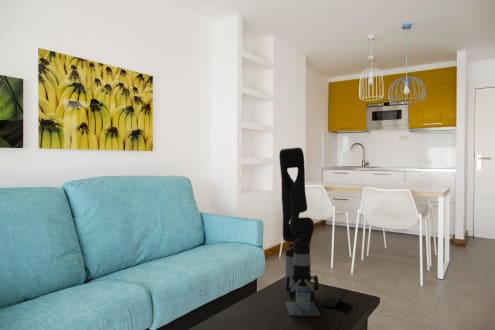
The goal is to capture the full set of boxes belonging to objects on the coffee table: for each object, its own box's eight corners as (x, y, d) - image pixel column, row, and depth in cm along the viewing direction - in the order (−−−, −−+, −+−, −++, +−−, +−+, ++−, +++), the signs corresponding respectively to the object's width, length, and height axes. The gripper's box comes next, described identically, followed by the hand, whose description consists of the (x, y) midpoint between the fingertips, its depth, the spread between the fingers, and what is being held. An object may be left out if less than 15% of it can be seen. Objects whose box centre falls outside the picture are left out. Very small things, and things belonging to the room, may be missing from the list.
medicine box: (295, 304, 163) (295, 285, 163) (305, 304, 164) (305, 284, 164) (299, 311, 155) (299, 291, 155) (310, 311, 156) (310, 291, 156)
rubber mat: (285, 303, 166) (285, 301, 166) (313, 302, 167) (313, 301, 167) (289, 316, 152) (289, 314, 152) (320, 315, 153) (320, 314, 153)
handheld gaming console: (323, 295, 172) (336, 280, 169) (335, 305, 171) (348, 290, 168) (320, 307, 162) (334, 292, 159) (333, 318, 160) (347, 303, 157)
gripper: (287, 265, 155) (287, 303, 156) (319, 265, 156) (319, 302, 156) (284, 260, 163) (284, 296, 163) (316, 260, 163) (316, 296, 163)
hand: (301, 299), depth 160 cm, fingers open, 8 cm apart
